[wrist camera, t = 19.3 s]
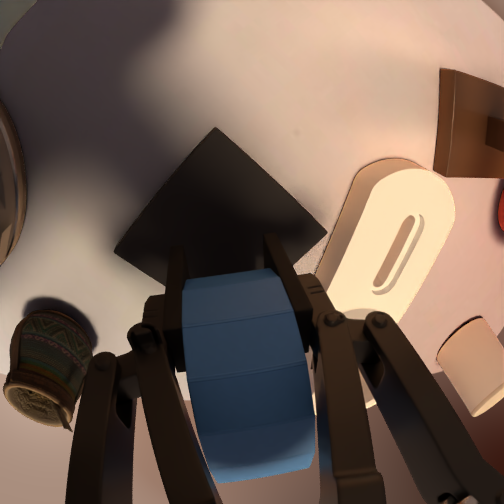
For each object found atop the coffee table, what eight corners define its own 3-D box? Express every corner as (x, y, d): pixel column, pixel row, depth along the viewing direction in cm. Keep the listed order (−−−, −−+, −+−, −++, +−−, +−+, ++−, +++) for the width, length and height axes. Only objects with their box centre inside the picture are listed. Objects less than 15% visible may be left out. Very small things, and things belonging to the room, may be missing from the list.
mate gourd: (11, 316, 20) (-30, 408, 12) (57, 280, 19) (9, 390, 11) (66, 366, 24) (45, 457, 15) (118, 340, 23) (103, 449, 15)
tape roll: (228, 500, 13) (184, 427, 8) (210, 365, 23) (183, 242, 17) (302, 487, 14) (332, 402, 8) (266, 357, 23) (261, 231, 18)
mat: (114, 247, 19) (112, 252, 18) (215, 126, 16) (216, 127, 16) (226, 318, 23) (227, 324, 23) (325, 229, 21) (328, 233, 20)
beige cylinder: (531, 363, 22) (490, 307, 31) (477, 406, 23) (438, 341, 32) (508, 396, 28) (478, 348, 37) (461, 429, 29) (433, 376, 38)
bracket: (351, 360, 30) (376, 411, 24) (274, 360, 27) (292, 421, 22) (448, 180, 20) (507, 216, 15) (367, 142, 18) (433, 175, 12)
